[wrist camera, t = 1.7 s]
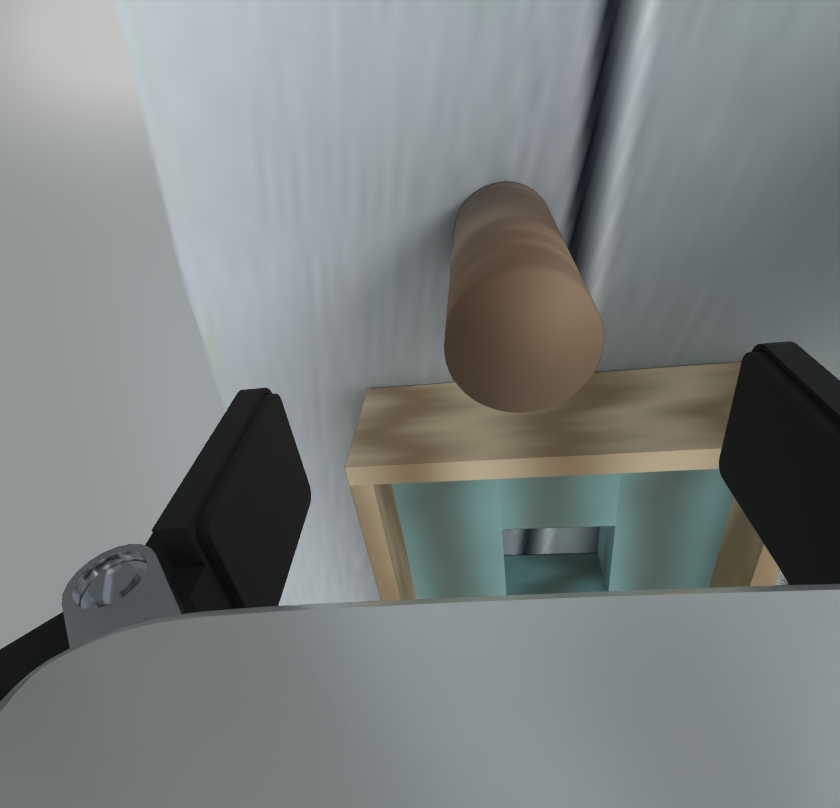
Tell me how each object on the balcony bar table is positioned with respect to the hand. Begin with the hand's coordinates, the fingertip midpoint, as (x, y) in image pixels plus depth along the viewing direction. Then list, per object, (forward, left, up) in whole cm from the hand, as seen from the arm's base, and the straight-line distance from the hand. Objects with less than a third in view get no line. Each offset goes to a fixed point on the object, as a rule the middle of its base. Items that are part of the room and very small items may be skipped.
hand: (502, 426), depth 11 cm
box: (-3, +17, -13) cm, 22 cm away
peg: (-1, 0, -13) cm, 13 cm away
